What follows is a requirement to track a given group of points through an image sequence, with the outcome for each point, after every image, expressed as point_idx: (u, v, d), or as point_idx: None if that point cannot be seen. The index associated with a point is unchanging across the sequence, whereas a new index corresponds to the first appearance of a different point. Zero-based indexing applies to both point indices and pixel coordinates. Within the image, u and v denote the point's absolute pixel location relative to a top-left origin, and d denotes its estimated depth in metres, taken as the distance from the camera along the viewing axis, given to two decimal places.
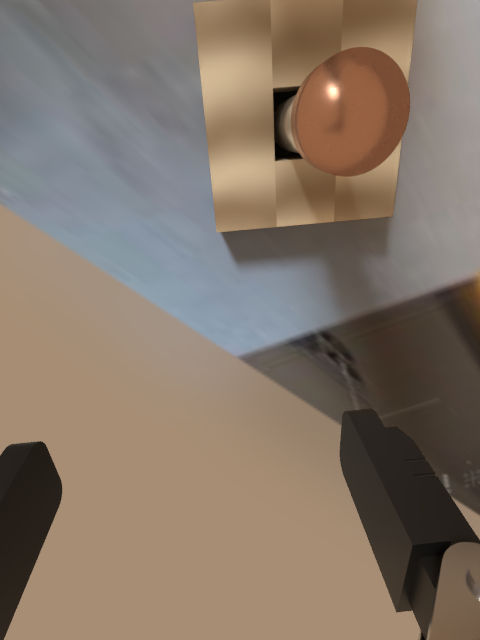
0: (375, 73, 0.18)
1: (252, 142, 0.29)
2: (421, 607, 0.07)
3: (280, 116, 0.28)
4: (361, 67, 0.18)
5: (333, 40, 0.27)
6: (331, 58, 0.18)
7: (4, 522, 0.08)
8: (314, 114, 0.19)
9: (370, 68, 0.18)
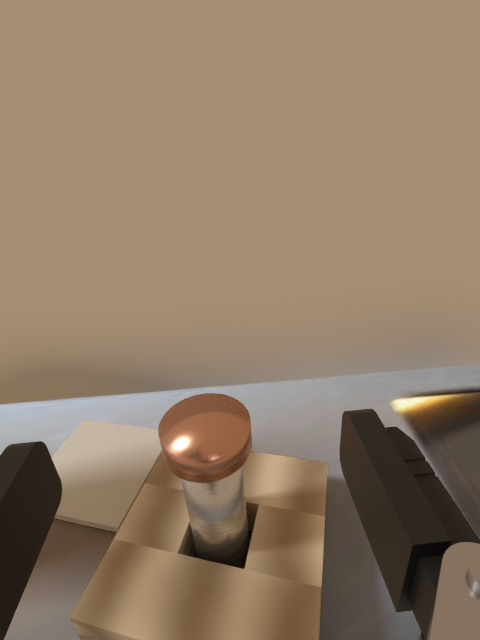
0: (184, 409, 0.25)
1: (215, 591, 0.25)
2: (421, 607, 0.07)
3: (203, 550, 0.27)
4: (175, 416, 0.25)
5: (169, 494, 0.32)
6: (159, 432, 0.23)
7: (4, 521, 0.08)
8: (189, 446, 0.22)
9: (179, 411, 0.25)
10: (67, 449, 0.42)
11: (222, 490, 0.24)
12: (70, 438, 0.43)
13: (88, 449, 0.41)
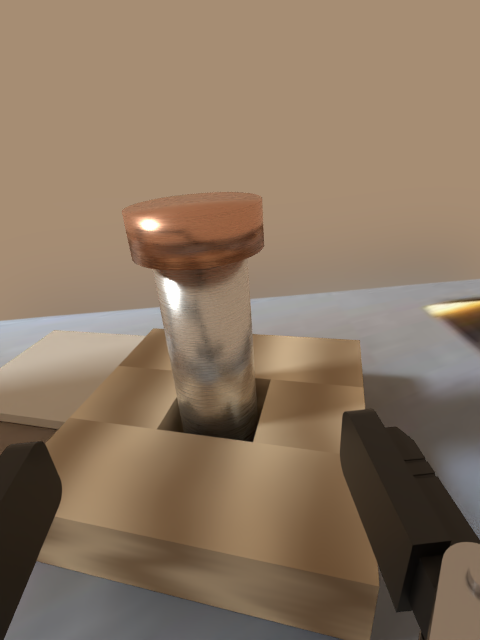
0: (164, 200, 0.17)
1: (210, 466, 0.17)
2: (421, 607, 0.07)
3: (194, 423, 0.19)
4: (150, 203, 0.16)
5: (150, 374, 0.24)
6: (123, 211, 0.15)
7: (4, 522, 0.08)
8: (167, 213, 0.14)
9: (156, 201, 0.17)
10: (28, 355, 0.34)
11: (220, 305, 0.16)
12: (34, 346, 0.35)
13: (54, 354, 0.33)
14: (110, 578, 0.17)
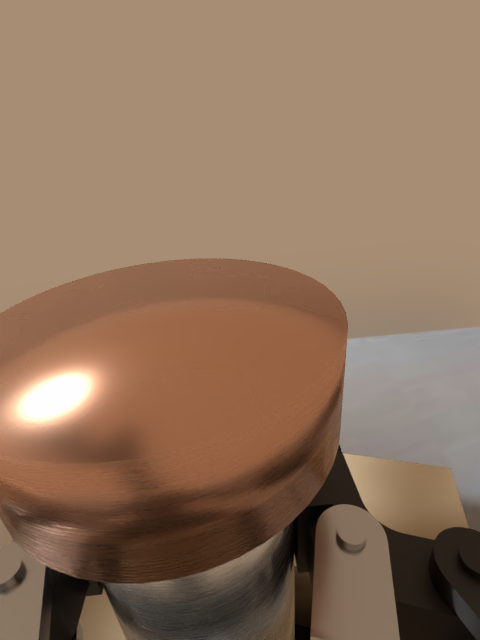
0: (97, 288, 0.07)
1: None
2: (310, 565, 0.07)
3: None
4: (57, 303, 0.07)
5: None
6: None
7: None
8: (59, 395, 0.04)
9: (78, 294, 0.07)
10: None
11: (230, 584, 0.06)
12: None
13: None
14: None
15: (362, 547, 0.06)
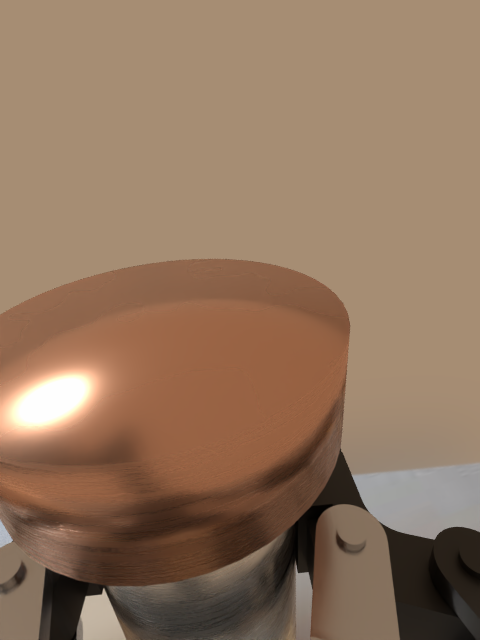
0: (97, 289, 0.07)
1: None
2: (310, 565, 0.07)
3: None
4: (58, 304, 0.07)
5: None
6: None
7: None
8: (61, 397, 0.04)
9: (79, 294, 0.07)
10: None
11: (231, 586, 0.06)
12: None
13: (97, 615, 0.27)
14: None
15: (362, 547, 0.06)
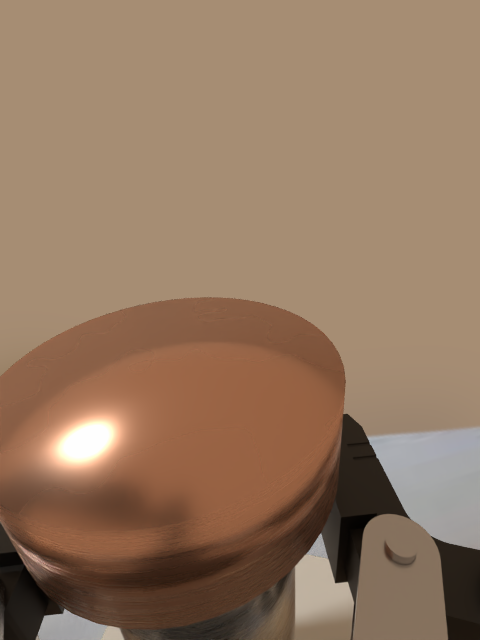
0: (108, 331, 0.08)
1: None
2: (351, 576, 0.07)
3: None
4: (73, 349, 0.07)
5: None
6: None
7: None
8: (82, 457, 0.05)
9: (91, 337, 0.08)
10: None
11: (235, 618, 0.06)
12: None
13: None
14: None
15: (414, 560, 0.06)
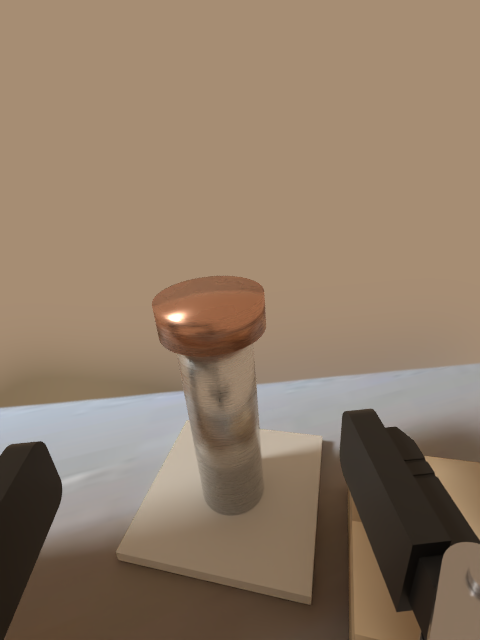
0: (183, 287, 0.21)
1: None
2: (421, 607, 0.06)
3: (208, 466, 0.23)
4: (173, 292, 0.20)
5: None
6: (153, 303, 0.19)
7: (4, 522, 0.08)
8: (189, 311, 0.18)
9: (178, 289, 0.21)
10: (176, 462, 0.29)
11: (231, 377, 0.20)
12: (175, 447, 0.30)
13: None
14: None
15: None
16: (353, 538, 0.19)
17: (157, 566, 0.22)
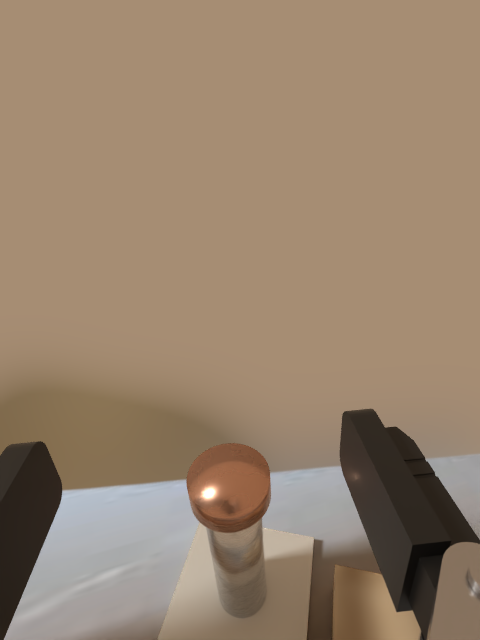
0: (208, 460, 0.28)
1: None
2: (421, 608, 0.06)
3: (225, 586, 0.29)
4: (201, 467, 0.27)
5: None
6: (187, 484, 0.26)
7: (5, 522, 0.08)
8: (216, 500, 0.24)
9: (204, 462, 0.27)
10: (196, 562, 0.35)
11: (244, 536, 0.26)
12: (194, 545, 0.37)
13: None
14: None
15: None
16: None
17: None
